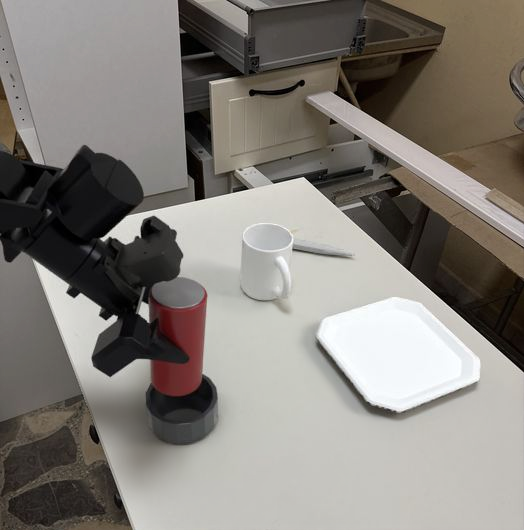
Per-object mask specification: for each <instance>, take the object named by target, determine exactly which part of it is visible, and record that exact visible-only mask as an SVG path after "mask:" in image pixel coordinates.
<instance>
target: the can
mask: <svg viewBox="0 0 524 530" xmlns="http://www.w3.org/2000/svg"><path fill="white" fill-rule="evenodd" d="M148 295H149V305H148V323H151V322H152V321H153V320H155V319H156V318H158V319H159V326H160V331H161V333H162V334H164V335H165V336H166V337H167V338H168V339H170V340H171V341H172V342H173V343H174V344H176V345H177V346H178V347H179V348H180V349H182V350H183V351H184V352H185V353H186V354H187V355H188V356H189V357H190V361H189V362H187V363H186V364H177V363H170V362H163V361H156V360H149V369H150V370H149V371H150V374H149V375H150V383H152V385H153V386H154V388H155V389H156V390H158V391H159V392H161V393H163V394H166V395H169V396H183V395H187V394H190V393H192V392H193V391H195V390H196V389H197V388H198V387H199V386H200V384H201V381H202V374H203V368H204V367H203V366H204V355H205V354H204V353H205V336H206V323H207V322H206V321H207V307H208V292H207V290H206V288H205V287H204V286H203V285H202V284H200V283H199V282H197V281H196V280H194V279H191V278H189V277H184V276H177V277H176V278H175V279H173V280H171V281H168V282H166V281H162V282H159V283H156V284H154V285H152V287H151V288H150V290H149V293H148Z"/></svg>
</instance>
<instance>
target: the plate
mask: <svg viewBox="0 0 524 530" xmlns="http://www.w3.org/2000/svg"><path fill="white" fill-rule="evenodd" d="M315 337H316V340H317V341H318V343H319V344H320V345H321V346H322V348H323V350H325V351H326V353H327V354H328V356H330V358H331V359H332V360H333V362H334V363H335V364H336V365H337V367H338V368H339V369H340V370H341V372H342V373H343V374H344V375H345V376H346V378H347V380H348V381H349V382H350V383H351V384H352V385H353V387H354V388H355V389H356V391H357V392H358V393H359V394H360V395H361V397H362V398H363V399H364V401H365V402H366V403H367V404H368V405H370V406H373V407H376V408H380V409H384V410H387V411H390V412H393V413H397V414H401V413H405V412H408V411H410V410H412V409H415V408H417V407H419V406H422V405H424V404H427V403H430V402H432V401H434V400H437V399H440V398H442V397H444V396H447V395H449V394H452V393H454V392H457V391H460V390H462V389H464V388H467V387H469V386H471V385H474V384H476V383H478V382H479V381H480V379H481V363H482V362H481V360H480V358H479V357H478V356H477V355H476V354H475V353H474V352H473V351H472V350H471V349H470V348H469V347H468V346H466V345H465V343H464V342H462V341H461V340H460V339H459V338H458V337H457V336H456V335H455V334H454V333H453V332H452V331H451V330H450V329H449V328H448V327H446V325H444V323H443V322H441V321H440V320H439V319H438V318H437V317H436V316H435V315H434V314H433V313H432V312H431V311H430V310H428V308H427V307H426V306H424V304H423V303H420V302H419V301H417V300H416V301H415V300H412V299H407V298H404V297H399V296H392V297H389V298H385V299H382V300H378V301H375V302H373V303H369V304H365V305H363V306H359V307H356V308H353V309H349V310H346V311H343V312H339V313H336V314H333V315H329V316H326V317H324V318H322V319H321V321H320V324H319V326H318V329H317V331H316V334H315Z"/></svg>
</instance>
